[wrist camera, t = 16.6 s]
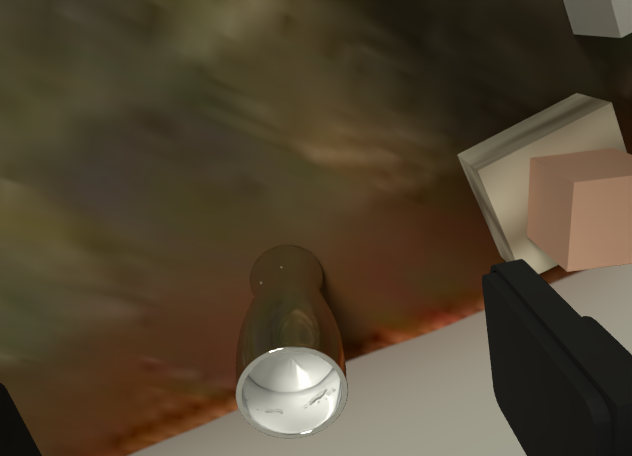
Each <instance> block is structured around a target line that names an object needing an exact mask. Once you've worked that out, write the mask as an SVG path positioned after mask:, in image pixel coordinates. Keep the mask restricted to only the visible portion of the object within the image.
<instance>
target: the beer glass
mask: <svg viewBox="0 0 632 456" xmlns="http://www.w3.org/2000/svg"><path fill="white" fill-rule="evenodd" d="M250 285H251V290H252V293H253V296H254V298H253V300H252V302H251V304H250V307H249V309H248V311H247V313H246V316H245V318H244V321H243V324H242V327H241V330H240V333H239V338H238V344H237V352H236V401H237V405H238V408H239V411H240V413H241V414H242V416H243V417H244V419H245V420H246V421H247V422H248V423H249V424H250V425H252V426H253V427H254V428H255V429H257V430H258V431H260V432H262V433H264V434H267V435H270V436H273V437H278V438H289V439H290V438H291V439H292V438H301V437H306V436H310V435H313V434H315V433H318V432H320V431H322V430H323V429H325V428H326V427H328V426H329V425H330V424H332V423H333V422H334V421H335V420H336V419H337V418H338V416H339V415H340V413H341V412H342V410H343V409H344V406H345V404H346V401H347V396H348V385H347V380H346V365H345V355H344V348H343V342H342V338H341V335H340V331H339V327H338V325H337V323H336V320H335V318H334V316H333V314H332V312H331V310H330V308H329V306H328V304H327V303H326V301H325V299H324V298H323V296H322V294H321V292H322V287H323V271H322V268H321V266H320V264H319V262H318V260H317V259H316V258H315V257H314V256H313V255H312V254H311V253H310V252H308V251H306V250H305V249H302V248H300V247H296V246H289V245H286V246H278V247H275V248H272V249H270V250H268V251H266V252H265V253H263V254H262V255H261V256H260V257H259V258H258V259H257V260H256V262H255V264H254V265H253V268H252V271H251V275H250Z"/></svg>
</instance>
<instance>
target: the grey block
mask: <svg viewBox="0 0 632 456" xmlns="http://www.w3.org/2000/svg"><path fill="white" fill-rule="evenodd" d="M563 1H564V4H565V8H566V11H567V14H568V18H569V21H570V24H571V28H572V31H573V34H577V35H590V36H602V37H615V38H622V37H624V36H626V35H628V34H630V33H632V0H563Z"/></svg>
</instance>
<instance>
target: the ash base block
mask: <svg viewBox="0 0 632 456" xmlns="http://www.w3.org/2000/svg"><path fill="white" fill-rule="evenodd" d="M608 148H615V149H618V150H620V151H623V152H625V153H627V151H626V148H625V145H624V141H623V138H622V135H621V131H620V128H619V125H618V122H617V118H616V115H615V112H614V109H613V105H612V102H608V101H605V100H601V99H597V98H593V97H590V96H586V95H582V94H578V93H576V94H574V95H572V96H570V97H568V98H566V99H564V100H562V101H560V102H558V103H556V104H554V105H552V106H551V107H549V108H547V109H545V110H543V111H541V112H539V113H537V114H535V115H533V116H531V117H529V118H527V119H525V120H523V121H521V122H520V123H518V124H516V125H514V126H512V127H510V128H508V129H506V130H504V131H502V132H500V133H498V134H496V135H494V136H492V137H490V138H489V139H487V140H485V141H483V142H481V143H479V144H477V145H475V146H473V147H471V148H469V149H467V150H465V151H463V152H461V153H460V154H458V155H457V156H458V158H459V160H460V163H461V165H462V167H463V170H464V172H465V174H466V177H467V179H468V181H469V184H470V186H471V188H472V190H473V193H474V195H475V197H476V200H477V202H478V204H479V207H480V209H481V211H482V213H483V216H484V218H485V220H486V223H487V225H488V227H489V230H490V232H491V234H492V237H493V239H494V241H495V243H496V246H497V248H498V250H499V253H500V255H501V257H502V258H503V259H504V260H505V261H506V262H509V261H513V260H518V259H523V260H524V261H526V262H527V263H528V264H529V265H530V266H531V267H532V268H533V269H534V270H535V271H536V272H537V273H538V274H540V273H542V272H544V271H546V270H549V269H551V268H553V267H555V266H557V265H559V264H558V263H557V262H555V261H554V260H553V259H552V258H551V257H550V256H549V255H548V254H546V253H545V252H544V251H543V250H542V249H541V248H540V247H538V246H537V245H536V244H535V243H534V242H533V241H532V240H530V239H529V238H528V237H527V220H528V198H529V176H530V158H534V157H542V156H550V155H559V154H567V153H575V152H583V151H592V150H600V149H608Z"/></svg>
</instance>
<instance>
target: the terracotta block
mask: <svg viewBox="0 0 632 456" xmlns="http://www.w3.org/2000/svg"><path fill="white" fill-rule="evenodd" d="M527 237H528V238H529V239H530V240H532V241H533V242H534V243H535V244H536V245H537V246H538V247H540V248H541V249H542V250H543V251H544V252H545V253H546V254H548V255H549V256H550V257H551V258H552V259H553V260H554V261H555V262H557V263H558V264H559V265H560V266H561V267H562V268H563V269H565V270H566V271H567V272H570V271H578V270H585V269H593V268H601V267H609V266H617V265H624V264H632V155H630V154H628V153H625V152H623V151H620V150H618V149H615V148H608V149H600V150H592V151H583V152H575V153H567V154H559V155H550V156H542V157H534V158H530V176H529V198H528V220H527Z"/></svg>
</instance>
